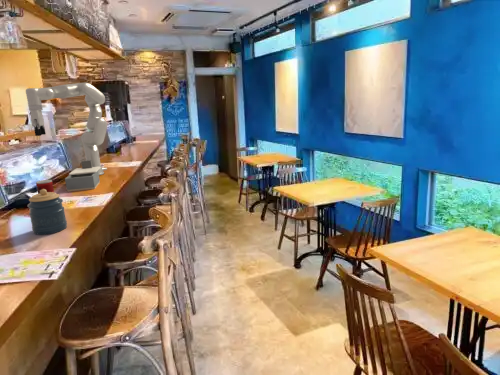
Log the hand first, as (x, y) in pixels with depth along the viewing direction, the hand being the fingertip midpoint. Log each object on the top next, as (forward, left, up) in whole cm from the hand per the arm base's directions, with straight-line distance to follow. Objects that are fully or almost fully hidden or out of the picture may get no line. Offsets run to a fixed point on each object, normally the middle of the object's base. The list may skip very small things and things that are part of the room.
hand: (40, 135), depth 240 cm
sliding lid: (-13, +22, -25) cm, 36 cm away
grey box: (-5, +30, -33) cm, 45 cm away
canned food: (+25, +40, -34) cm, 58 cm away
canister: (+54, +92, -34) cm, 112 cm away
